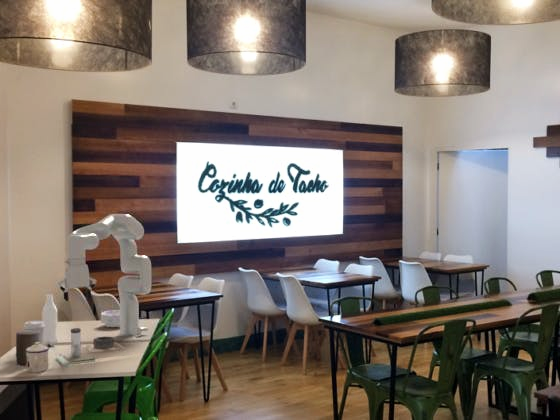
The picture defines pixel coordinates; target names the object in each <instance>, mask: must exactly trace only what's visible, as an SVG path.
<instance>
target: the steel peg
mask: <svg viewBox="0 0 560 420" xmlns="http://www.w3.org/2000/svg"><path fill="white" fill-rule="evenodd" d="M81 330H82V329H81V328H80V327H79V328H78V327H77V328H70V346H71V347H70V350H71V351H70V352H71V353H70V356H71V357H70V358H71V359H79V358H81V357H82V353H81V352H82V351H81V350H82V349H81V347H82V346H81V342H82V341H81V339H82V338H81V332H82V331H81Z"/></svg>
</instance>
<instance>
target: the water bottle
mask: <svg viewBox="0 0 560 420" xmlns="http://www.w3.org/2000/svg"><path fill="white" fill-rule="evenodd" d="M45 297H46V299H45V303H44V306H43V308H42V310H41V317H42V319H41V321H43V323H44V324H45V327H44V334H43V346H47V347H49V346H50V347H54V344H57V343H58V341H59V338H58V337H59V336H58V332H57V330H58V329H57V328H58V322H59V321H58V308H57V306H56V304H55V302H54V295H53V293H51V294H49V293H48V294H45Z"/></svg>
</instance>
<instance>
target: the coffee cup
mask: <svg viewBox="0 0 560 420" xmlns="http://www.w3.org/2000/svg"><path fill="white" fill-rule="evenodd" d="M44 327H45V324H44V323H43V321H42V320H30V321H26V322H24V324H23V327H22V328H23V330H27V329H28V330H38V331H40V332H39V343H40V344H41V345H43V346H44V344H43V334H44Z"/></svg>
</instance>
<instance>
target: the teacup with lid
mask: <svg viewBox="0 0 560 420" xmlns="http://www.w3.org/2000/svg"><path fill="white" fill-rule="evenodd" d="M49 350H50V349H49V346H45V345H44V344H43V345H41V344H40V343H39V342H35V345H33V346H31V347H29V348H27V349H26V360H27V365H26V371H27V372H28V373H41V372H45V371H47V370H48V369H49Z"/></svg>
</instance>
